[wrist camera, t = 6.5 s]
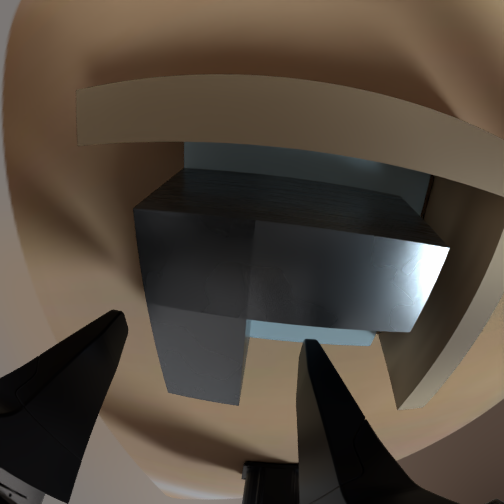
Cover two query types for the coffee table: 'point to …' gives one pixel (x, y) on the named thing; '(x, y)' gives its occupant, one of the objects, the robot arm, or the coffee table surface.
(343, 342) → the pad
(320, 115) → the corner walls
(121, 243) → the coffee table surface
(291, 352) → the coffee table surface
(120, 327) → the robot arm
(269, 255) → the bracket
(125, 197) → the coffee table surface
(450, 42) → the coffee table surface
